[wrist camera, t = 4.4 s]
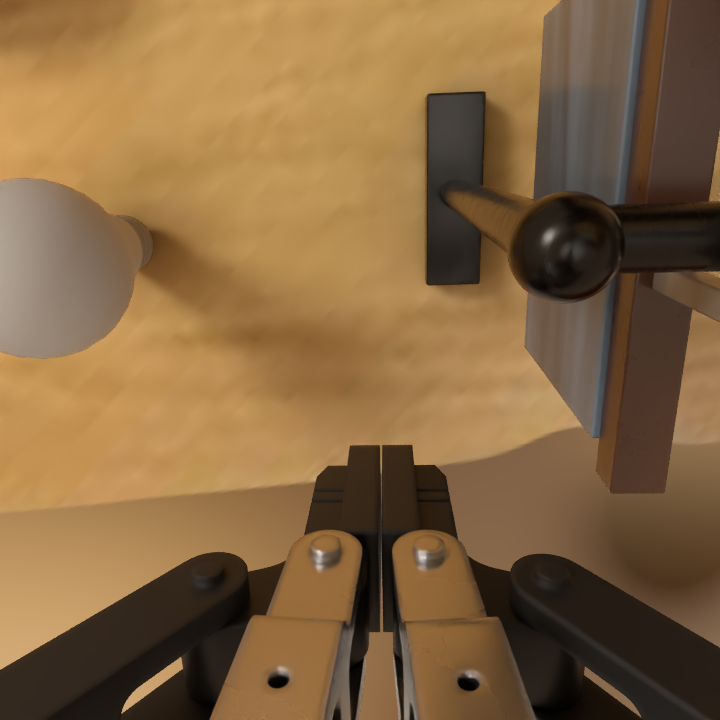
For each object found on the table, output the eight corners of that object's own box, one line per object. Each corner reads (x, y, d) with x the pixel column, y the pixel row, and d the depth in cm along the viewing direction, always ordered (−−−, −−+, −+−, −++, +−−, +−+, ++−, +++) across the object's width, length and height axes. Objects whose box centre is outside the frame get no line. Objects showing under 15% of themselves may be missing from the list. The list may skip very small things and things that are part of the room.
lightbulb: (44, 208, 28) (-164, 238, 17) (154, 150, 26) (3, 143, 16) (115, 323, 29) (-36, 413, 19) (220, 272, 28) (122, 338, 18)
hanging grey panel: (522, 370, 24) (702, 650, 10) (545, -18, 20) (912, -435, 6) (566, 369, 24) (807, 651, 10) (599, -21, 20) (1102, -453, 6)
